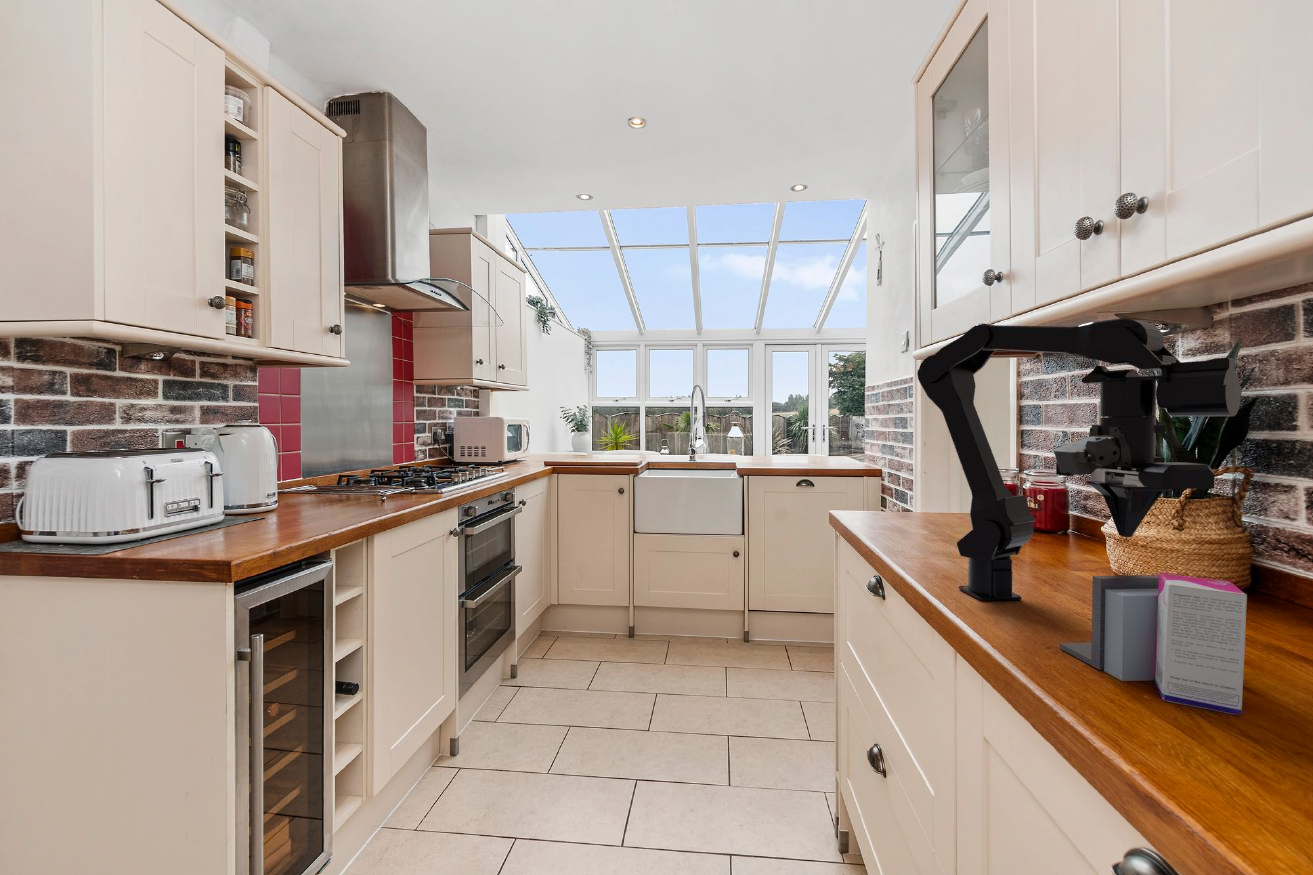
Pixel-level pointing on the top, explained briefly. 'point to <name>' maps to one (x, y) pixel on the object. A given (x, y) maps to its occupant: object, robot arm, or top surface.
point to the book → (1130, 633)
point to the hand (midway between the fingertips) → (1125, 536)
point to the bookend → (1095, 650)
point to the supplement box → (1200, 642)
